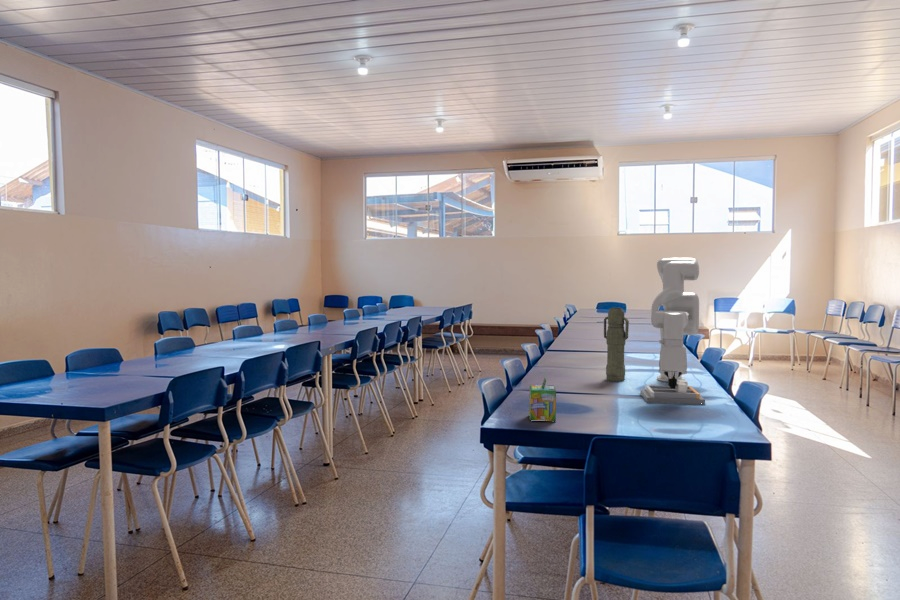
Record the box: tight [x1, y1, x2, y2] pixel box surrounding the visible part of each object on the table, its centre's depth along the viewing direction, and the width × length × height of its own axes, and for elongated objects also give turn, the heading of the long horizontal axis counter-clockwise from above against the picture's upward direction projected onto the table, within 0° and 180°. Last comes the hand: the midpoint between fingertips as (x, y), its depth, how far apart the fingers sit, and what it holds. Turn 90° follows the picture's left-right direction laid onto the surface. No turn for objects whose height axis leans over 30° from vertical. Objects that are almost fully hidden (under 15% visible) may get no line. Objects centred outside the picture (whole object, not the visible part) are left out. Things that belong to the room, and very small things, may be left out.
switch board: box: [640, 384, 706, 405], centre depth 230 cm, size 22×16×4 cm
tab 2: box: [676, 382, 686, 393], centre depth 227 cm, size 3×4×5 cm
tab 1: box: [677, 379, 689, 390], centre depth 232 cm, size 3×4×5 cm
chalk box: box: [528, 377, 557, 422], centre depth 201 cm, size 9×9×15 cm
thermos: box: [603, 306, 630, 382], centre depth 270 cm, size 9×12×35 cm
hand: (672, 387), depth 227 cm, fingers closed
